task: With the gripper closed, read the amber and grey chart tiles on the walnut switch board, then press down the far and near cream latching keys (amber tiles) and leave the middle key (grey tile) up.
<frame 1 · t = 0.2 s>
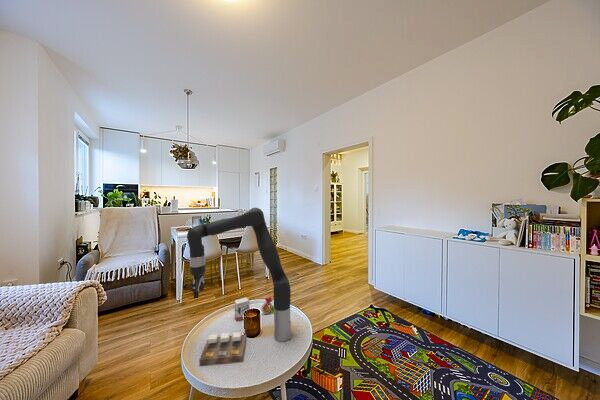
hand: (199, 294, 120), 28 cm above the table, fingers open, 8 cm apart
far key: (213, 338, 117), point 6 cm above the table, slide at 0.0 cm
switch board: (224, 351, 116), on the table
ink box: (242, 318, 147), on the table
near key: (237, 336, 119), point 6 cm above the table, slide at 0.0 cm
bird rattle: (268, 313, 152), on the table
middle key: (225, 337, 118), point 6 cm above the table, slide at 0.0 cm
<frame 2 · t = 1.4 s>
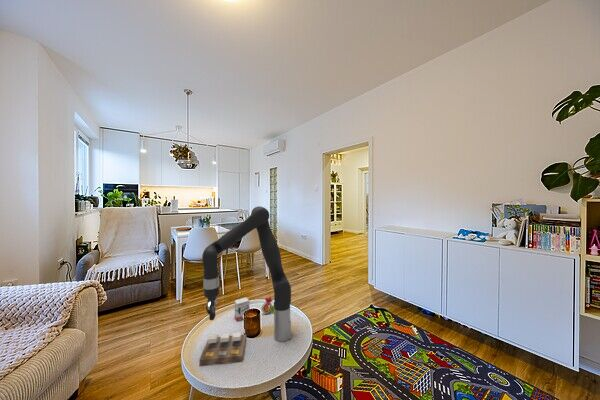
hand: (212, 318, 117), 17 cm above the table, fingers closed
nothing on the table moved.
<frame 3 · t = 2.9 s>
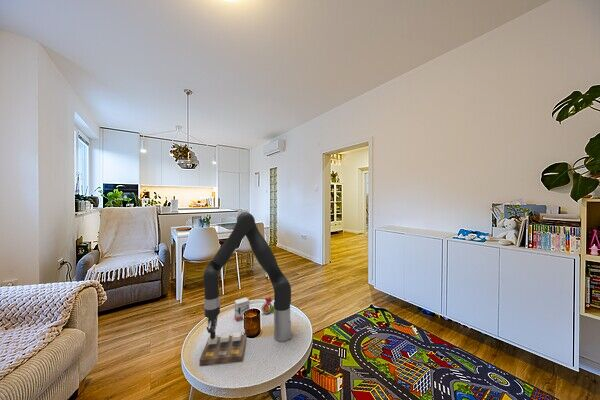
hand: (212, 337, 117), 7 cm above the table, fingers closed
far key: (213, 339, 117), point 6 cm above the table, slide at 0.6 cm, touching gripper
everything else where it was.
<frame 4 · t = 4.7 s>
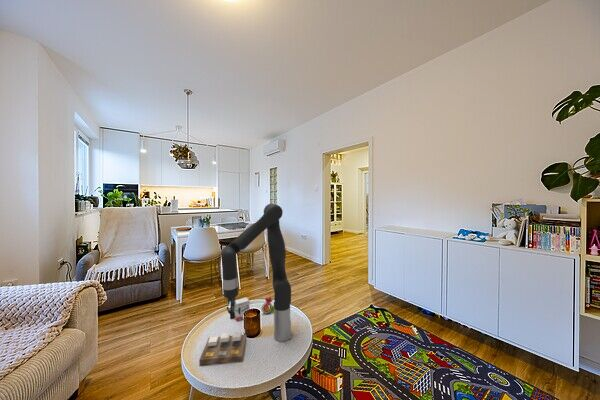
hand: (232, 318, 118), 16 cm above the table, fingers closed
far key: (213, 341, 117), point 5 cm above the table, slide at 1.5 cm
everything else where it was.
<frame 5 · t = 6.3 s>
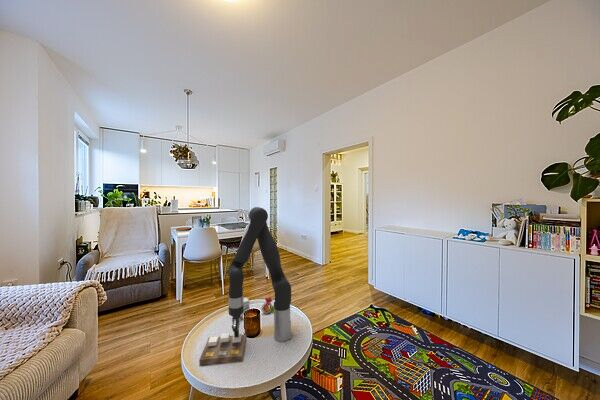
hand: (236, 336, 119), 6 cm above the table, fingers closed
near key: (237, 338, 119), point 5 cm above the table, slide at 0.9 cm, touching gripper
everything else where it was.
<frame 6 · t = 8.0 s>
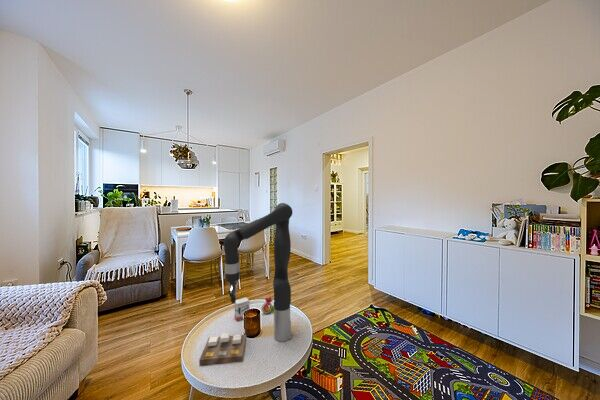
hand: (233, 302, 122), 23 cm above the table, fingers closed
near key: (237, 339, 119), point 5 cm above the table, slide at 1.5 cm
everything else where it was.
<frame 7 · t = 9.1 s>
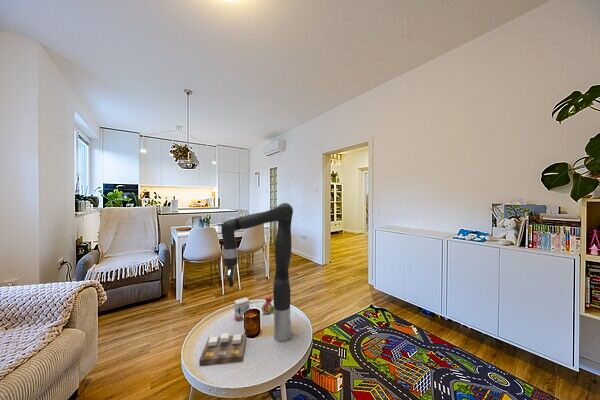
hand: (231, 286, 127), 29 cm above the table, fingers closed
nothing on the table moved.
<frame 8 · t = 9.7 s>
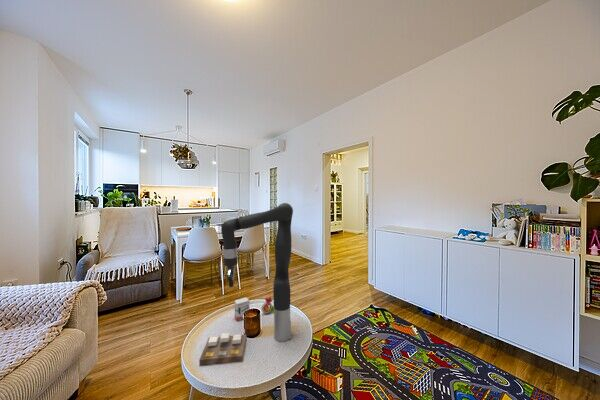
hand: (231, 286, 127), 29 cm above the table, fingers closed
nothing on the table moved.
at the end: far key slide at 1.5 cm; near key slide at 1.5 cm; middle key slide at 0.0 cm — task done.
